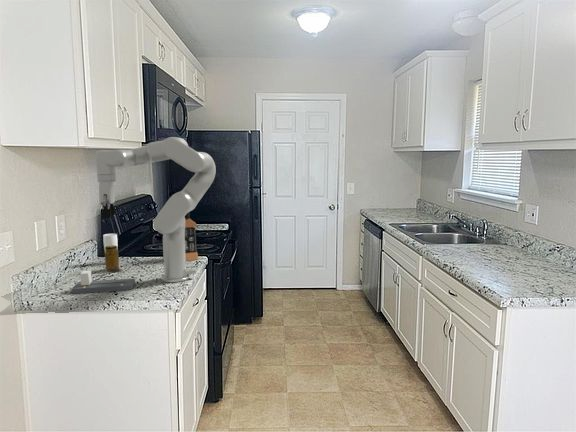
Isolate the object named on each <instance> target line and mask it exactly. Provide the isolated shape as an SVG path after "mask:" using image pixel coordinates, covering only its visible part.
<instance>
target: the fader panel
mask: <svg viewBox="0 0 576 432" xmlns="http://www.w3.org/2000/svg"><path fill="white" fill-rule="evenodd" d="M135 284H136V278H121V279H120V278H118V279H116V278H115V279H103V280H101V279H100V280H92V282H91V283H90V285H82V286H81V281H78V282H76V283H75V285H74V286H73V287H71V289H70V290H71V294H72V295H73V294H75V295H76V294H86V293H87V294H89V293H90V294H91V293H103V292H106V293H107V292H117V291H119V292H121V291H132V290H133V289H134V287H135Z"/></svg>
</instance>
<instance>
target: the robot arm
mask: <svg viewBox="0 0 576 432" xmlns="http://www.w3.org/2000/svg"><path fill="white" fill-rule="evenodd" d="M167 160H172V161H174V162H175V163H176V164H178V165H179V166H182V167H183V168H184V169H186V170H187V171H189V172H192V173H194V175H193V176H192V177H191V178H190V179H189V181H188V182H187V184H186V185H185V186H184V187H183V189H182V190H180V191H178V192H176V193H174V194H172V195H171V196H170V197H169V198H168V199H167V201H166V202H165V204H164V205H163V207H162V208H161V209H160V211H159V212H158V213H157V215H156V216H155V217H154V228H155V230H156V231H157V232H158V233H159V234H160V235H162V251H163V253H162V254H163V273H164V274H163V275H161V276H160V280H161V282H165V283H179V282H184V281H187V280H189V279H190V277H191V276H190V275H196V274H197V270H196V269H193V268H191V269H189V268H188V267H187V265H186V262H187V261H186V260H185V217H184V216H185V215H186V214H187V213H188V212H190V213H191V211H193V210H195V209H196V207H197V205H198V203H199V202H200V201H201V199H202V198H203V196H204V195H205V194H206V192H207V191H208V189H210V187H211V185H212V184H213V182H214V180H215V178H216V174H217V173H216V171H217V170H216V169H217V167H216V163H215V161H214V159H213V157H212V156H211V155H210V153H209V154H208V153H207V152H204V151H197V150H195V149H193V148H192V147H190V146H189V144H188V142H187V141H186V140H185V139H184V138H181V137H179V136H178V137H177V136H170V137H167V138H165V139H163V140H158V141H151V142H149V143H147V144H146V145H144V146H141V147H136V148H131V149H113V150H110V149H109V150H108V149H106V150H105V149H101V150H97V151H95V163H96V164H95V165H96V178H97V182H98V183H99V184H98V198H99V204H100V205H102V206H101V208H102V218H103V219H111V217H112V216H115V215H116V208H115V207H116V206H115V201H116V194H115V193H116V192H115V184H114V182H117V178H116V177H117V174H116V167H117V168H125V167H126V168H127V167H133V166H139V165H144V164H149V163H157V162H161V161H167Z"/></svg>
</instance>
